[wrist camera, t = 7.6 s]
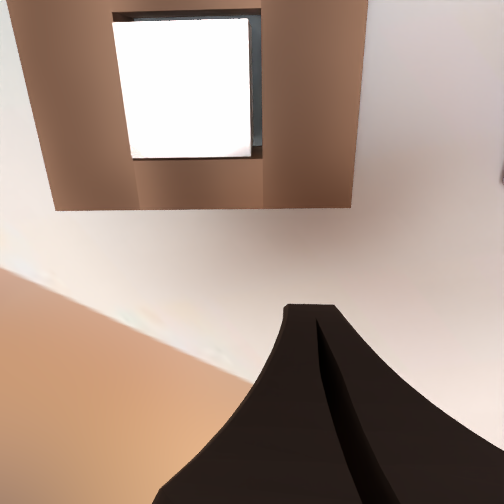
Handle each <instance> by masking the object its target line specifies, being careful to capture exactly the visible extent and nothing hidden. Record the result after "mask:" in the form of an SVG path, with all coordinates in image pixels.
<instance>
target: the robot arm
mask: <svg viewBox="0 0 504 504" xmlns="http://www.w3.org/2000/svg"><path fill="white" fill-rule="evenodd" d="M503 183H504V180H503ZM152 504H504V451H503V450H501V449H500V448H498V447H496V446H494V445H493V444H491V443H490V442H488V441H486V440H485V439H483V438H482V437H480V436H478V435H477V434H475V433H474V432H472V431H471V430H469V429H468V428H466V427H465V426H463V425H462V424H461V423H459V422H458V421H456V420H455V419H453V418H452V417H450V416H449V415H447V414H446V413H445V412H443V411H442V410H441V409H439V408H438V407H436V406H435V405H434V404H432V403H431V402H430V401H429V400H427V399H426V398H425V397H424V396H422V395H421V394H420V393H419V392H417V391H416V390H415V389H414V388H413V387H411V386H410V385H409V384H408V383H407V382H405V381H404V380H403V379H402V378H401V377H400V376H399V375H398V374H397V373H395V372H394V371H393V370H392V369H391V368H390V367H389V366H388V365H387V364H386V363H385V362H384V361H383V360H382V359H381V358H380V357H379V356H378V355H377V354H376V353H375V352H374V351H373V349H372V348H371V347H370V346H369V345H368V344H367V343H366V342H365V341H364V340H363V339H362V337H361V336H360V335H359V334H358V333H357V332H356V330H355V329H354V328H353V327H352V326H351V325H350V323H349V322H348V321H347V320H346V318H345V317H344V316H343V315H342V314H341V312H340V311H339V310H338V309H337V308H336V306H335V305H321V304H287V305H286V306H285V307H284V308H283V321H282V324H281V328H280V331H279V334H278V336H277V339H276V342H275V344H274V347H273V349H272V351H271V353H270V355H269V357H268V359H267V361H266V363H265V365H264V367H263V369H262V371H261V373H260V375H259V376H258V378H257V380H256V381H255V383H254V385H253V387H252V388H251V390H250V391H249V393H248V394H247V396H246V397H245V398H244V400H243V401H242V403H241V404H240V406H239V407H238V408H237V409H236V411H235V412H234V413H233V415H232V416H231V417H230V418H229V420H228V421H227V422H226V423H225V425H224V426H223V427H222V428H221V429H220V430H219V431H218V433H217V434H216V435H215V436H214V437H213V438H212V439H211V440H210V441H209V442H208V443H207V445H206V446H205V447H204V448H203V449H202V450H201V451H200V452H199V453H198V454H197V455H196V456H195V457H194V458H193V459H192V460H191V461H190V462H189V463H188V464H187V465H186V466H185V467H183V468H182V469H181V470H180V471H179V472H178V473H177V474H176V475H175V476H174V477H172V478H171V479H170V480H169V481H168V482H167V483H166V484H165V485H164V486H162V488H160V489H159V491H158V493H157V495H156V497H155V499H154V501H153V503H152Z"/></svg>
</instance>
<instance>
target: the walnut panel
mask: <svg viewBox="0 0 504 504" xmlns="http://www.w3.org/2000/svg"><path fill="white" fill-rule="evenodd" d="M6 1H7V6H8V10H9V14H10V18H11V23H12V27H13V31H14V36H15V40H16V44H17V48H18V53H19V57H20V61H21V65H22V70H23V74H24V78H25V82H26V87H27V91H28V95H29V99H30V104H31V108H32V112H33V116H34V121H35V125H36V129H37V133H38V138H39V142H40V146H41V150H42V155H43V159H44V163H45V168H46V172H47V176H48V180H49V185H50V189H51V193H52V197H53V202H54V206H55V210H56V211H92V210H188V209H285V208H351V199H352V187H353V175H354V163H355V152H356V140H357V128H358V116H359V104H360V92H361V80H362V68H363V56H364V44H365V32H366V21H367V9H368V0H6ZM233 15H261V54H262V146H252V151H251V156H243V157H176V158H132V156H131V149H130V142H129V135H128V128H127V122H126V115H125V108H124V101H123V94H122V87H121V80H120V73H119V66H118V59H117V52H116V45H115V38H114V31H113V25H112V22H134V20H133V18H160V17H196V16H233Z"/></svg>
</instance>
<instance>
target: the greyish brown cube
mask: <svg viewBox="0 0 504 504" xmlns="http://www.w3.org/2000/svg"><path fill="white" fill-rule="evenodd" d="M112 25H113V31H114V38H115V45H116V52H117V59H118V66H119V73H120V80H121V87H122V94H123V101H124V108H125V115H126V122H127V128H128V135H129V142H130V149H131V156H132V158H176V157H243V156H251V151H252V145H253V138H254V131H253V79H252V27H251V25H250V23H249V21H248V19H223V20H185V21H148V22H112Z"/></svg>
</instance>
